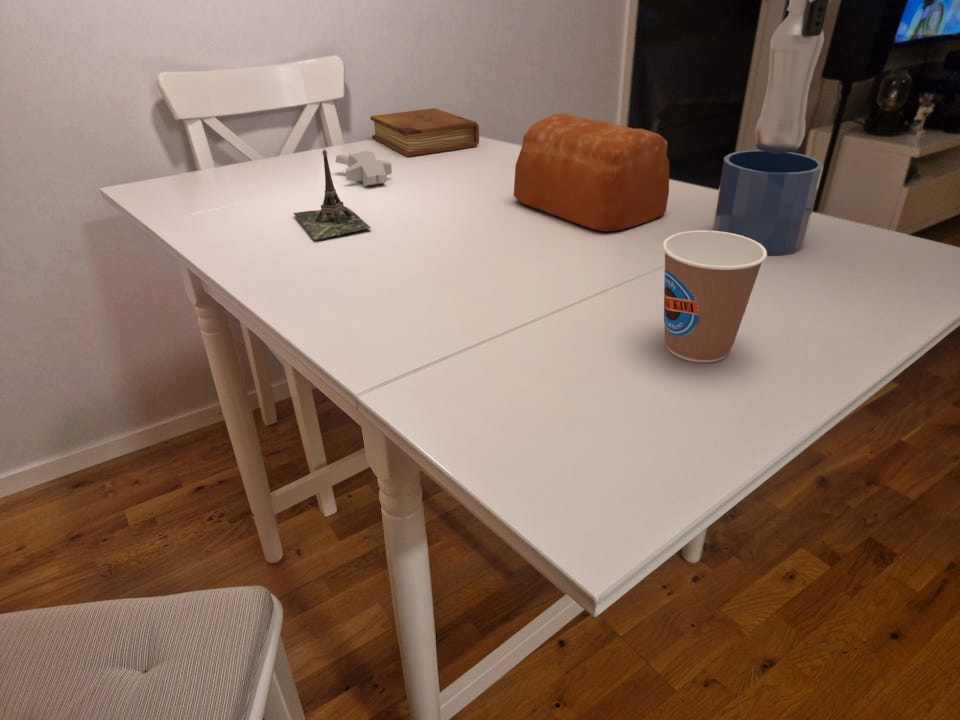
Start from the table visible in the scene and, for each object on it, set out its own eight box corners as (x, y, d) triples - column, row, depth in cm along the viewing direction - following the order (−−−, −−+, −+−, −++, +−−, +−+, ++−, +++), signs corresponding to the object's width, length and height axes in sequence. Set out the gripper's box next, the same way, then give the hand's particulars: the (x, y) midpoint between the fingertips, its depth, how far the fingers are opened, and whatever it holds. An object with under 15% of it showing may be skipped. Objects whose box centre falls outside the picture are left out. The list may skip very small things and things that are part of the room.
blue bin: (780, 223, 108) (796, 148, 102) (820, 253, 96) (841, 171, 90) (699, 226, 108) (711, 151, 101) (730, 257, 96) (745, 175, 90)
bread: (604, 237, 104) (612, 141, 96) (507, 201, 121) (507, 117, 113) (674, 214, 113) (686, 124, 105) (574, 184, 130) (578, 104, 122)
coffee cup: (635, 332, 77) (645, 235, 71) (714, 321, 79) (731, 225, 73) (677, 377, 69) (693, 272, 63) (764, 363, 71) (789, 260, 65)
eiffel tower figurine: (291, 216, 117) (278, 138, 110) (346, 206, 121) (337, 131, 114) (314, 242, 105) (300, 158, 98) (374, 231, 109) (365, 149, 102)
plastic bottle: (808, 157, 92) (845, -6, 82) (760, 158, 92) (790, -4, 82) (789, 146, 98) (821, -8, 88) (744, 147, 98) (770, -6, 88)
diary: (479, 146, 158) (478, 121, 155) (407, 157, 150) (405, 131, 148) (438, 129, 175) (437, 106, 172) (372, 138, 168) (370, 115, 165)
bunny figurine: (353, 171, 126) (328, 146, 137) (355, 196, 129) (331, 170, 140) (399, 164, 130) (371, 140, 141) (400, 188, 133) (373, 164, 144)
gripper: (897, -132, 72) (856, 37, 81) (831, -118, 85) (802, 28, 93) (830, -130, 72) (796, 39, 81) (774, -116, 85) (749, 30, 93)
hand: (799, 32), depth 87 cm, fingers closed on plastic bottle, 6 cm apart
